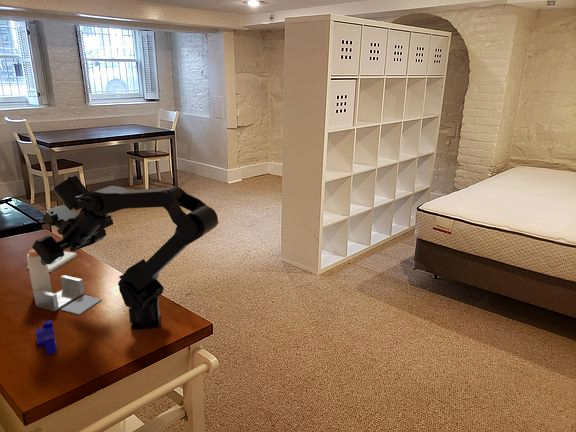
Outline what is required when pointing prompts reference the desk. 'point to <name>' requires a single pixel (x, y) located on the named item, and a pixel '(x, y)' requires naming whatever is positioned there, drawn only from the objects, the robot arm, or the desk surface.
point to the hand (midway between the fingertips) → (57, 256)
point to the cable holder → (46, 337)
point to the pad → (81, 304)
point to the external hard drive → (61, 261)
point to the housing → (60, 294)
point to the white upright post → (38, 272)
